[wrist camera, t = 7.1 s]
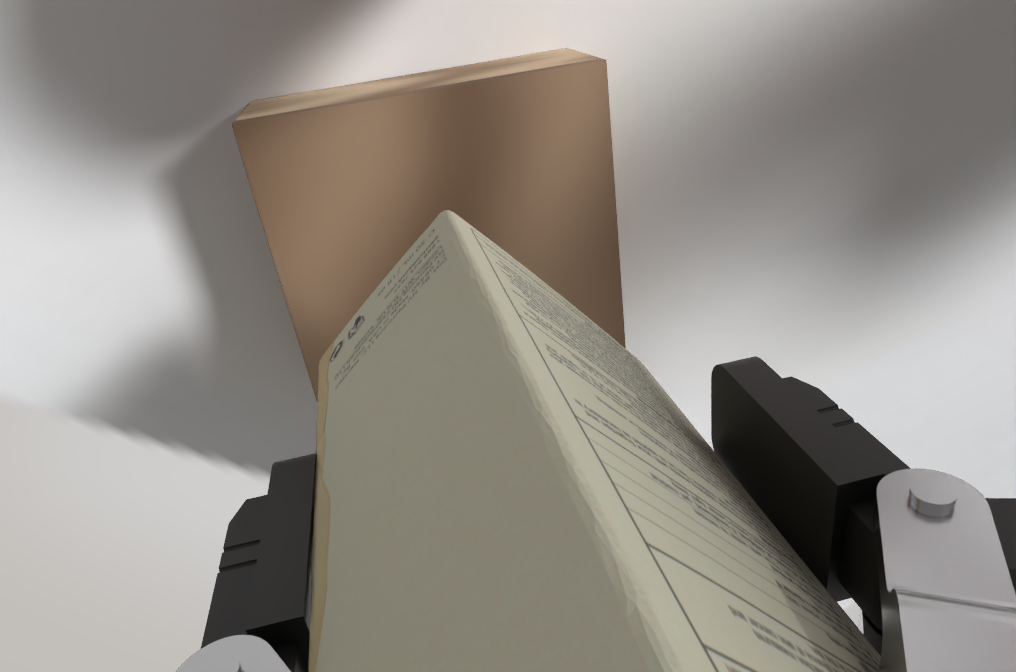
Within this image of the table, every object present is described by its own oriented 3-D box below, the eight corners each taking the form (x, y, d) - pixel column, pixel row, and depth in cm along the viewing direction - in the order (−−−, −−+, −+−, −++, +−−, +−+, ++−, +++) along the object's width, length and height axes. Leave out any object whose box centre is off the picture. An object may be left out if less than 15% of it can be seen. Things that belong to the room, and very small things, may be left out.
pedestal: (567, 48, 23) (606, 60, 19) (592, 324, 28) (627, 374, 24) (251, 101, 22) (231, 124, 18) (332, 379, 26) (329, 440, 23)
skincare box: (313, 358, 15) (210, 1347, 4) (450, 193, 14) (788, 920, 3) (532, 493, 17) (817, 1306, 7) (660, 362, 16) (1229, 1068, 6)
